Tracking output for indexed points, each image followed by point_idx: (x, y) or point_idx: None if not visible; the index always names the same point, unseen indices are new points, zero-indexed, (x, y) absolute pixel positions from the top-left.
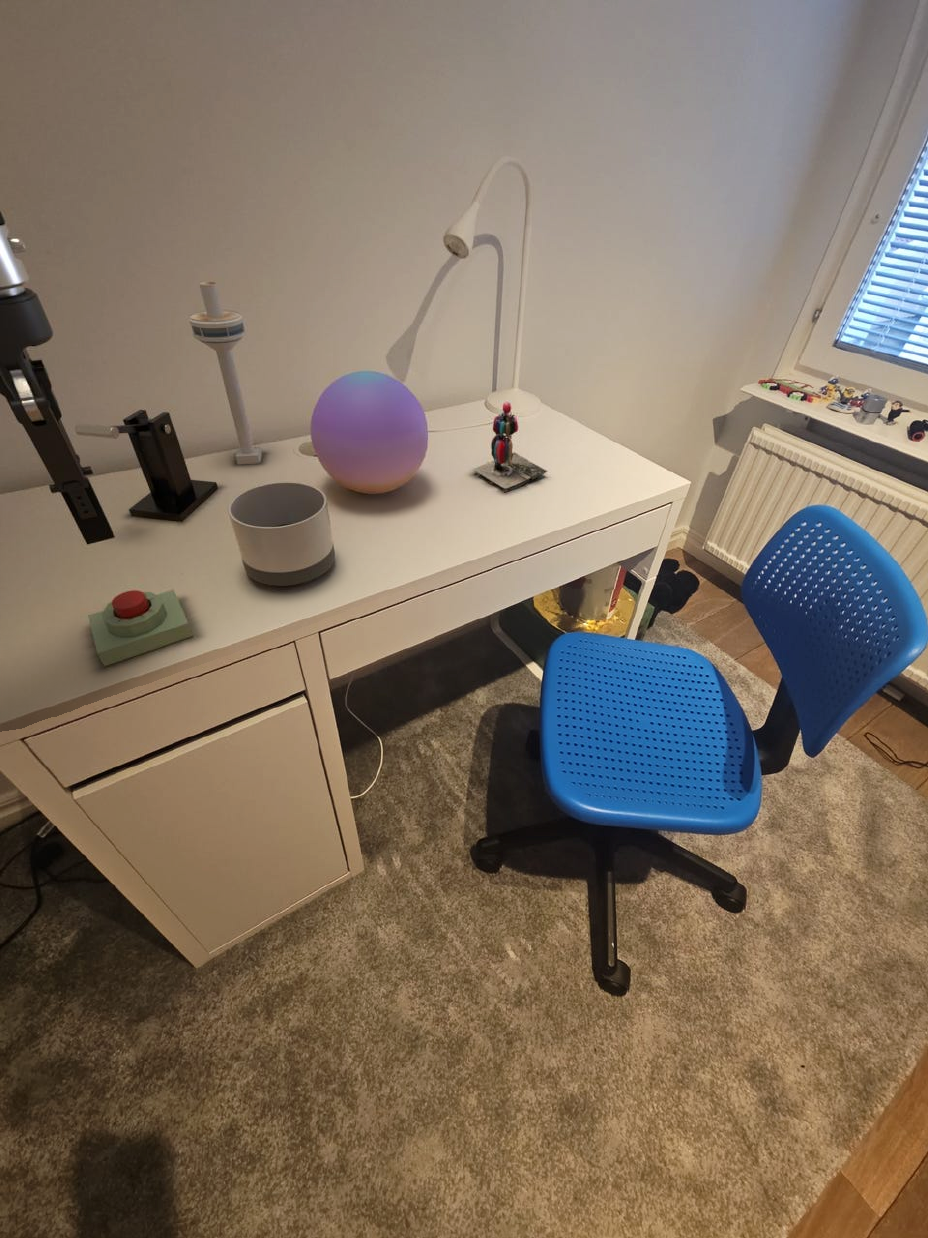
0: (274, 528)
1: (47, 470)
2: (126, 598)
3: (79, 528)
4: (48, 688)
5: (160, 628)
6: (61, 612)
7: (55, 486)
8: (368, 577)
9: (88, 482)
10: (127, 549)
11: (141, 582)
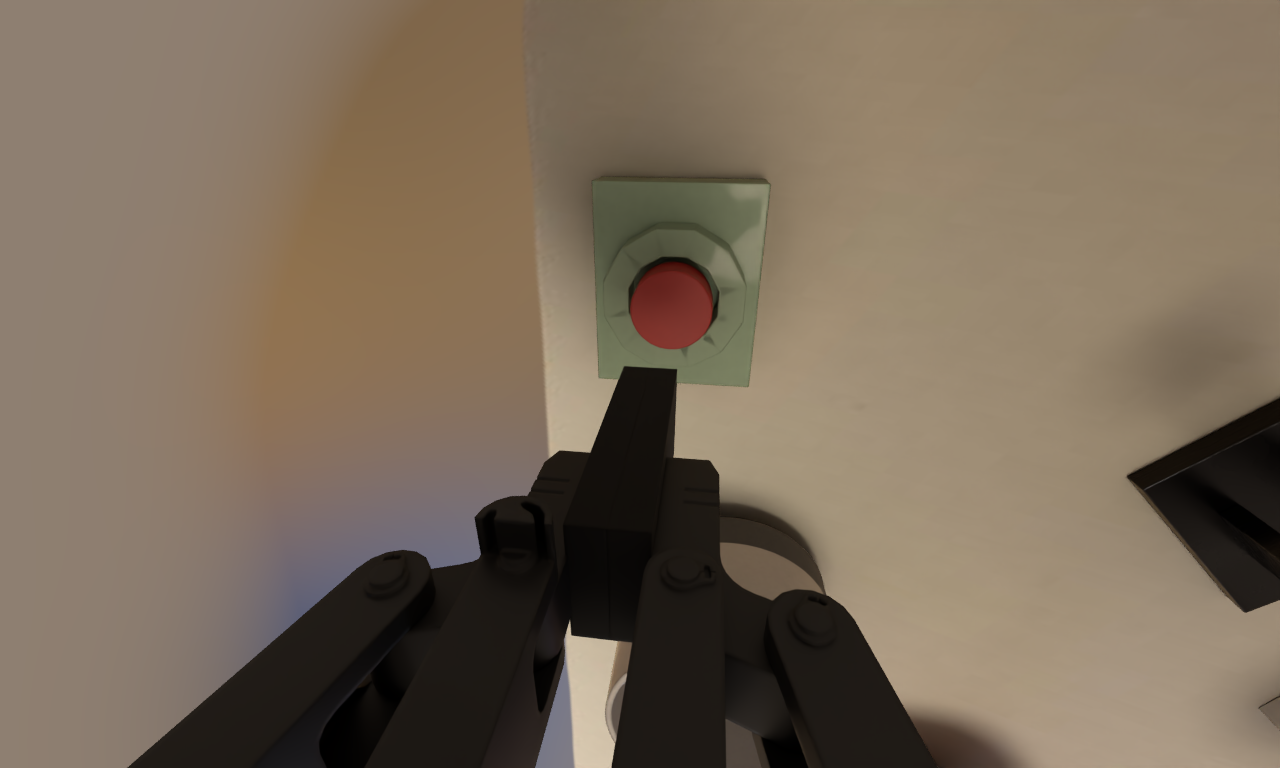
0: (614, 684)
1: (194, 710)
2: (676, 308)
3: (612, 400)
4: (589, 38)
5: (609, 326)
6: (910, 101)
7: (366, 580)
8: (610, 642)
9: (583, 634)
10: (1108, 324)
11: (896, 319)
